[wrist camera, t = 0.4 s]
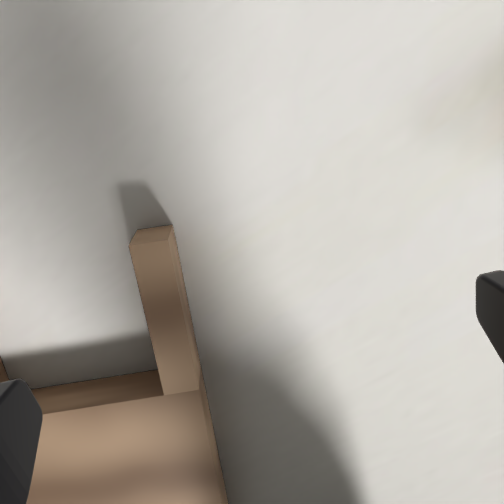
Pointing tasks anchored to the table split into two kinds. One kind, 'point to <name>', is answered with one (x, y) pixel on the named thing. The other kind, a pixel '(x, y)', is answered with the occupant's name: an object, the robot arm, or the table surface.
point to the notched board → (135, 410)
